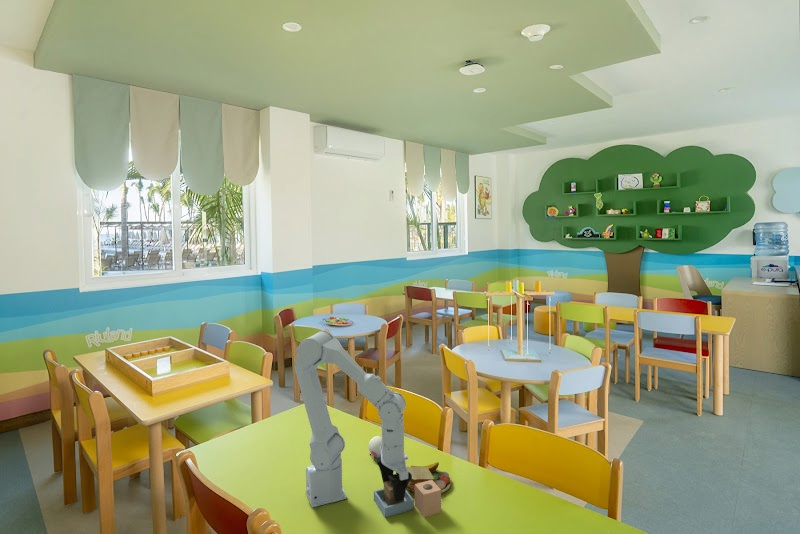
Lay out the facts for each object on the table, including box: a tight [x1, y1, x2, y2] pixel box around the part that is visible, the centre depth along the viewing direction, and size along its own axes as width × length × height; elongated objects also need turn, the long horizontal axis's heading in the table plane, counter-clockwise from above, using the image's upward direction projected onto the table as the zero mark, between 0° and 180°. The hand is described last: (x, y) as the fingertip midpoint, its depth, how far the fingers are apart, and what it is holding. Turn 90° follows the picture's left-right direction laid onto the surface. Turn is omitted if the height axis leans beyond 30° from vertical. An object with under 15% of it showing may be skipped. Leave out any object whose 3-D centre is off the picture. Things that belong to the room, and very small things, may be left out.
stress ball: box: [368, 435, 382, 458], centre depth 143 cm, size 8×8×7 cm
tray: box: [373, 487, 415, 519], centre depth 118 cm, size 8×8×2 cm
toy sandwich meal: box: [406, 461, 452, 495], centre depth 127 cm, size 12×14×5 cm
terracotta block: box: [414, 480, 442, 518], centre depth 116 cm, size 5×5×6 cm
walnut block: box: [383, 481, 404, 506], centre depth 117 cm, size 4×4×5 cm
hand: (393, 492), depth 117 cm, fingers open, 7 cm apart
